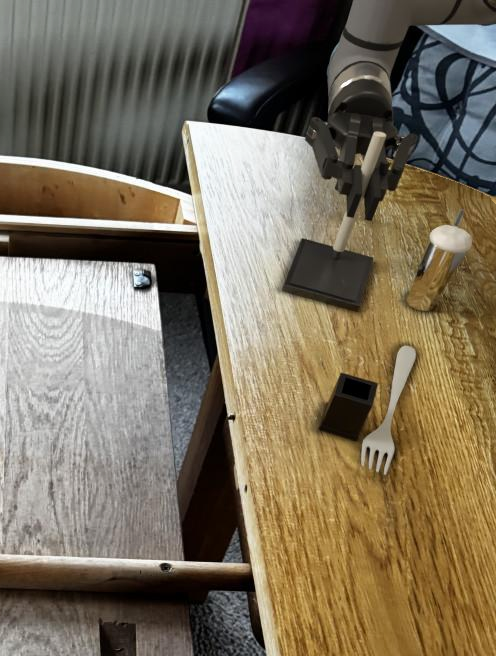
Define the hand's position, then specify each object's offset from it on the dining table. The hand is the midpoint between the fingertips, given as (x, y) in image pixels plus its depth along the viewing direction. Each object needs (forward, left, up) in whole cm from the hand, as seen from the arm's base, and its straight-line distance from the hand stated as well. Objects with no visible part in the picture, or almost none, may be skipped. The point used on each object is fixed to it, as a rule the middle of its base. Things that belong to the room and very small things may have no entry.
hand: (363, 207), depth 102 cm
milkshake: (-10, -2, -10) cm, 14 cm away
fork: (-10, +20, -10) cm, 24 cm away
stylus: (+1, -4, -9) cm, 10 cm away
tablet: (+1, -1, -10) cm, 10 cm away
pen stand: (-5, +25, -10) cm, 27 cm away
